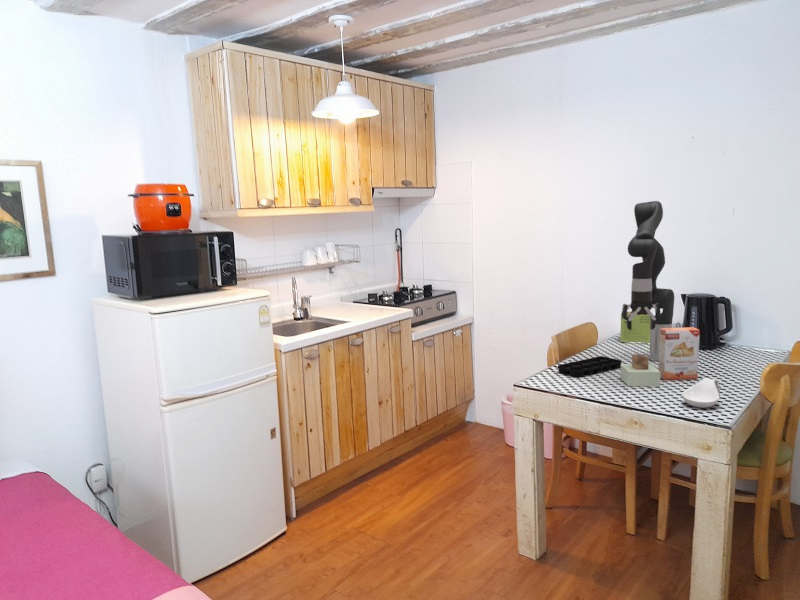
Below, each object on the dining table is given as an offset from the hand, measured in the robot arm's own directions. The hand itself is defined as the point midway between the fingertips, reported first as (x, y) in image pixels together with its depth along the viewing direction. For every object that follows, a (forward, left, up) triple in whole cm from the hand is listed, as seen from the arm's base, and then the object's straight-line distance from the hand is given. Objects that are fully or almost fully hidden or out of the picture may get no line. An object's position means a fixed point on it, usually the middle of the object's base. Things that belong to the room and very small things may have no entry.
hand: (640, 329), depth 229 cm
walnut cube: (0, 0, -16) cm, 16 cm away
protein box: (-20, -75, -22) cm, 81 cm away
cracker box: (-17, -6, -22) cm, 29 cm away
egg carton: (+16, -19, -23) cm, 34 cm away
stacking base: (0, 0, -22) cm, 22 cm away
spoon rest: (-16, +23, -22) cm, 36 cm away
